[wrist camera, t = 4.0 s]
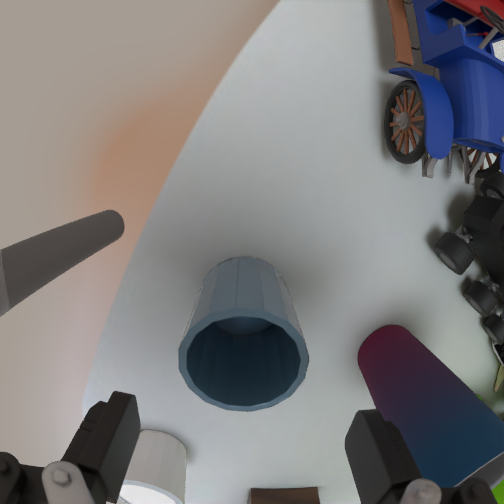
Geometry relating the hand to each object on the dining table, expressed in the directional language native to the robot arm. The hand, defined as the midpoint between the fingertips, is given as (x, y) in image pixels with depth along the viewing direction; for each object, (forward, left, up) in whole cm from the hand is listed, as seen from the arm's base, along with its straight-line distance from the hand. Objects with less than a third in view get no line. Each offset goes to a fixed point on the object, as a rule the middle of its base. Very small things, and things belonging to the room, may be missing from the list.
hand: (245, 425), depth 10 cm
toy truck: (+11, +22, -12) cm, 27 cm away
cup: (+12, -4, -12) cm, 17 cm away
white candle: (-7, -18, -12) cm, 23 cm away
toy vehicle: (+21, +4, -12) cm, 25 cm away
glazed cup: (0, 0, -12) cm, 12 cm away
